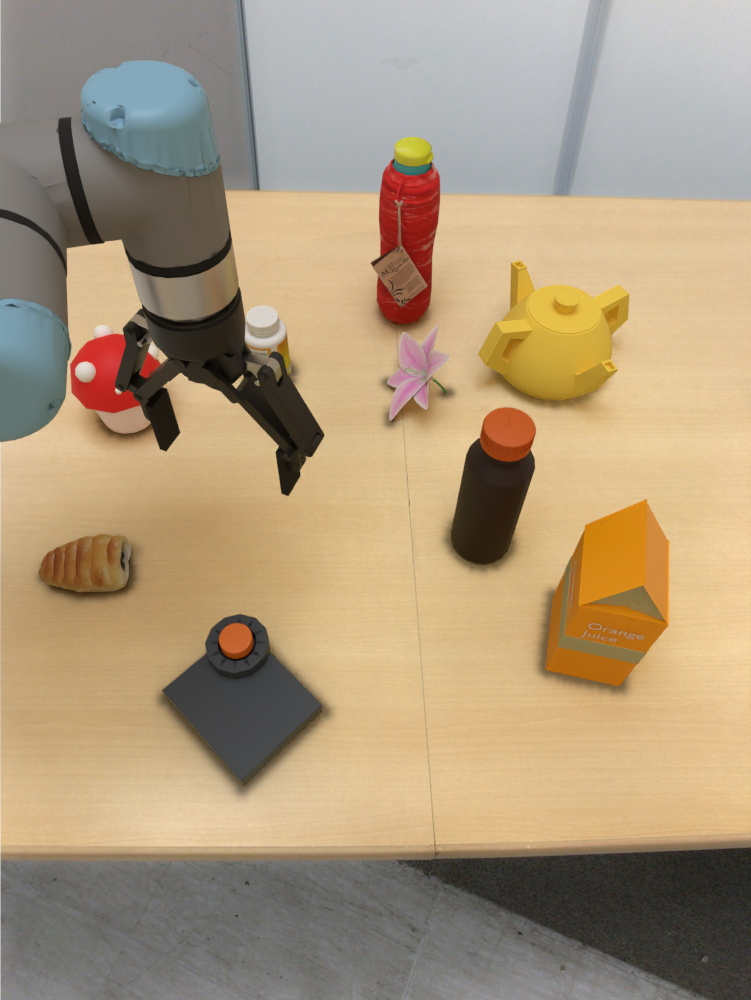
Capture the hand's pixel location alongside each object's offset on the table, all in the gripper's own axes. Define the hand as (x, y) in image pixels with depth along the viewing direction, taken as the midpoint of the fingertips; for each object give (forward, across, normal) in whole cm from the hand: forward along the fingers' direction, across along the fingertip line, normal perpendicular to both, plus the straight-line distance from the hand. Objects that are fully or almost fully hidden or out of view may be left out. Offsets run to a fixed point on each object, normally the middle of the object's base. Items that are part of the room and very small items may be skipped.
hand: (229, 462), depth 74 cm
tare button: (+10, -7, +13) cm, 18 cm away
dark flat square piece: (+13, -9, +18) cm, 24 cm away
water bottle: (+13, -3, -40) cm, 42 cm away
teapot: (+13, -25, -40) cm, 49 cm away
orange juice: (+13, -39, -2) cm, 41 cm away
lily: (+13, -10, -27) cm, 32 cm away
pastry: (+13, +13, +11) cm, 21 cm away
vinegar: (+13, -25, -10) cm, 30 cm away
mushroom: (+13, +22, -10) cm, 27 cm away
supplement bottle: (+13, +9, -23) cm, 28 cm away
